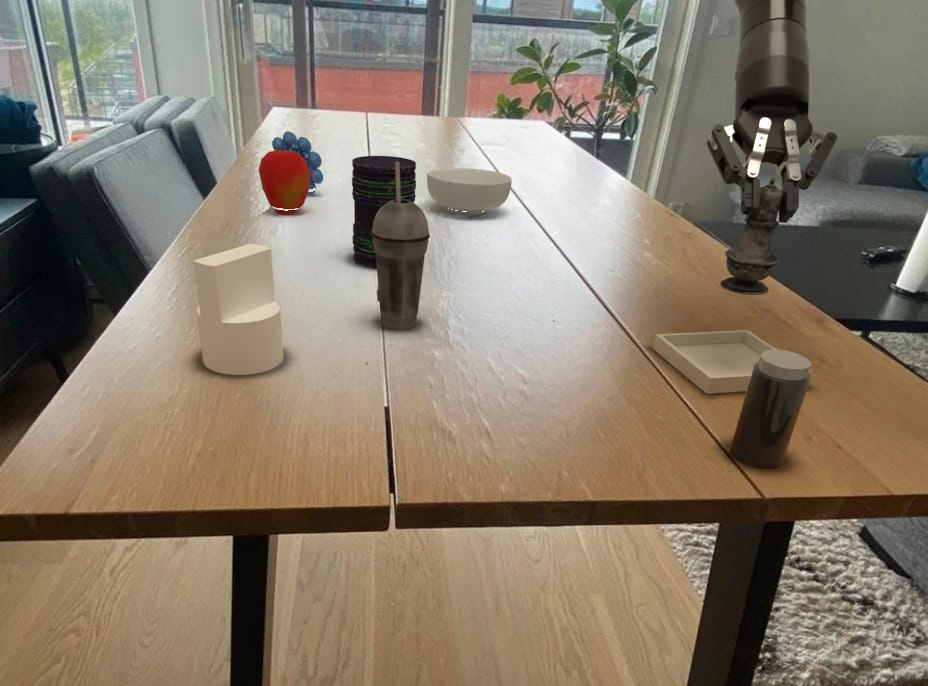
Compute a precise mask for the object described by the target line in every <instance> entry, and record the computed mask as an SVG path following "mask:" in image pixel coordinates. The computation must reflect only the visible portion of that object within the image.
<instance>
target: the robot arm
mask: <svg viewBox="0 0 928 686" xmlns="http://www.w3.org/2000/svg"><path fill="white" fill-rule="evenodd" d="M733 3H734V6H735V9H736V13H737V15H738V17H739V43H738V45H739V46H738V47H739V48H738V53H737V54H738V55H737V60H736V65H735V66H736V67H735V74H734V82H735V96H734V97H735V98H734V101H735V102H734V120H733V122H732V124H731V125H728V126H724V125H723V124H720V123H717V124H715V125H714V126H713V127H712V130H711V132H710V134H709V136H708V138H707V141H706V146H707V148H708V150H709V153H710V155H711V157H712V159H713V161H714V163H715V166H716V168H717V170H718V172H719V175H720V176H721V178H722V180H723V183H725V184H727V185H732V184H735V185H737V186H738V187H739V188H740V211H741V215H745V218H746V220H754V218H755V217H756V215H757V214H758V212H759V207H760V188H761V179H758V177H759V174H760V170H761V166H762V165H761V164H764V163H769V164H770V165H771V164H772V165H774V169H775V175H776V176H777V177H778V179H779V185H780V190H781V191H782V194H783V196H782V201H781V204H780V208H779V211H778V223H781V224H784V223H785V224H787V223H788V222H789V220H790V219H792V218H793V217H794V215H795V214H796V213H797V211H798V209H799V207H800V190H802V191H806V190H808V189H809V188H810V186H811V185H812V183H813V182H814V180H815V179H816V178H817V176H818V175H819V174H820V171H821V170H822V168H823V166H824V164H825V162H826V161H827V158H828V156H829V155H830V153H831V151H832V149H833V148H834V145H835V143H836V142H837V140H838V135H837V134H836V133H835V132H832V131H830V132H827V133H826V134H825V135H824V134H822V133H820V132H817V131H815V130H814V127H813V123H812V122H811V119H810V118H809V111H810V48H809V43H808V10H807V9H808V8H807V7H808V5H807V0H733ZM733 141H734V142H735V144H736V145H737V146H738V148H739V149H740V150H741V151H742V153H743V154H744V155H745V156H744V159H743V164H742V162H741V160H740V158H739V156H738V154H737V151H736V149H735V147H734V145H733ZM805 143H806V144H807V145H808V146H809V147H808V156H809V157H810V160H809V162H808V164H807V165H806V168H805V170H801V165H800V159H801V152H800V149H801V148H802V147H803V146H804V145H805Z"/></svg>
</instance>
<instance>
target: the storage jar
mask: <svg viewBox="0 0 928 686" xmlns="http://www.w3.org/2000/svg"><path fill="white" fill-rule="evenodd" d="M395 162H399V165H400V193H401V199H405V200H409V201H411V202H413V203H415V201H416V197H417V195H416V190H417V180H416V177H417V176H416V175H417V173H416V169H417V162H416V161H414V160H412V159H409V158H406V157H399V156H390V155H365V156H363V155H362V156H357V157H355V158H352V161H351V166H352V171H351V173H352V178H351V187H352V191H351V194H352V199H353V203H354V204H353V205H354V208H353V209H354V210H353V211H354V213H353V214H354V223H353V224H352V245H353V247H352V248H353V252H354V253H353V256H352V257H353V262H354V263H355V264H357V265H359V266H362V267H365V268H369V269H376V270H377V266H376V253H375V251H374V246H373V236H372V235H371V232H372V229H373V222H374V219H375V216H376V214H377V212H378V211H379V209H380V208H381V207H382V206H383V205H384V204H386V203H387V202H389V201H392V200H395V199H397V198H396V170H395Z"/></svg>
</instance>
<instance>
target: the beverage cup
mask: <svg viewBox="0 0 928 686" xmlns="http://www.w3.org/2000/svg"><path fill="white" fill-rule="evenodd" d="M395 170H396V198H397V199H395V200H392V201H389V202H387V203H386V204H384V205H383V206H382V207H381V208H380V209H379V211H378V212H377V214H376V216H375V219H374V222H373V229H372V232H371V235H372V236H373V246H374V251H375V253H376V266H377V269H376V274H377V275H376V276H377V277H376V279H377V289H378V298H379V299H378V303H379V313H380V318H381V325H382V326H383V327H385V328H386V329H390V330H394V331H395V330H396V331H397V330H398V331H405V330H411V329H413V328H415V326H416V325H417V319H418V314H419V308H420V307H419V306H420V298H421V289H422V282H423V275H424V274H423V272H424V264H425V256H426V253H427V250H428V246H429V239H430V238H431V235H430V230H429V223H428V219H427V216H426V214H425V213H424V211H423V210H422V208H421V207H420V206H418V205H417V204H416V203H415V202H414V203H413V202H411V201H409V200H405V199H401V193H400V165H399V162H395Z"/></svg>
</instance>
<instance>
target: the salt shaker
mask: <svg viewBox="0 0 928 686" xmlns="http://www.w3.org/2000/svg"><path fill="white" fill-rule="evenodd" d="M768 181H769V183H768V184H766V185H763V186H760V207H759V212H758V214H757V215H756V217H755V218H754V220H746V217H745V218H744V222H745V223H746V224H745V228H744V231H743V236H742V238H741V241H740V242H739V243H738V246H737V247H734V248H730V249H727V250H726V251H725V253H724V255H725V257H726V261H725V264H726V269H727V271H728V272H729V274H730V277H727V278H725V279H723V280H721V281H720V286H721V287H722V288H723V289H725V290H726V291H730V292H731V293H732V292H733V293H736V294H741V295H747V296H761V295H765V294H767V293H768V292H769V288H768V287H767V285H765V284H764V283H763V282H761V281H763V280H765V279H766V278H768V277H769V276H770V275H771V274H772V273H773V272H774V270H775V268H776V265H778V264H780V262H781V261H780V260H781V259H780V258H779V257H778V256H777V255H776V254H773V252H772V251H771V247H772V246H771V244H772V240H773V236H774V232H775V228H776V227H778V226H779V224H780V222H779V221H778V220H777V219H778V216H779V208H780V204H781V201H782V196H783V194H782V191H781V188H779V187H777V186H776V185H775V183H776V182H777V181H776V178H775V177H774V176H772V177H771V178H770V179H769V180H768Z"/></svg>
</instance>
